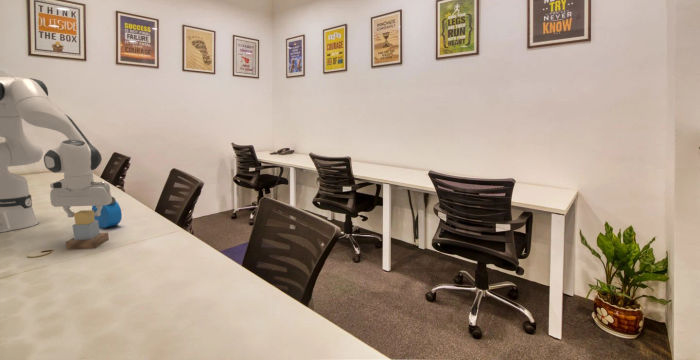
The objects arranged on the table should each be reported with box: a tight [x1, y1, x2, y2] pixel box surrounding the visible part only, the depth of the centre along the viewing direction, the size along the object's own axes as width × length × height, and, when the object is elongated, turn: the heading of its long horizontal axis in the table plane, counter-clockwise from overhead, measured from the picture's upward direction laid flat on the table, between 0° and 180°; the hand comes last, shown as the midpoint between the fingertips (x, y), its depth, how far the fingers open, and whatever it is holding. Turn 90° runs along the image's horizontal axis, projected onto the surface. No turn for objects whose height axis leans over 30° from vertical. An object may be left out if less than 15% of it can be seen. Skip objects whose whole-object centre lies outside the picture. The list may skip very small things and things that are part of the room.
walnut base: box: [65, 232, 109, 251], centre depth 139 cm, size 10×10×3 cm
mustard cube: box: [73, 209, 95, 225], centre depth 137 cm, size 4×4×4 cm
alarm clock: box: [91, 196, 123, 229], centre depth 159 cm, size 13×6×15 cm, turn 65°
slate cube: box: [72, 220, 101, 240], centre depth 138 cm, size 6×6×6 cm
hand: (84, 216), depth 137 cm, fingers open, 8 cm apart
